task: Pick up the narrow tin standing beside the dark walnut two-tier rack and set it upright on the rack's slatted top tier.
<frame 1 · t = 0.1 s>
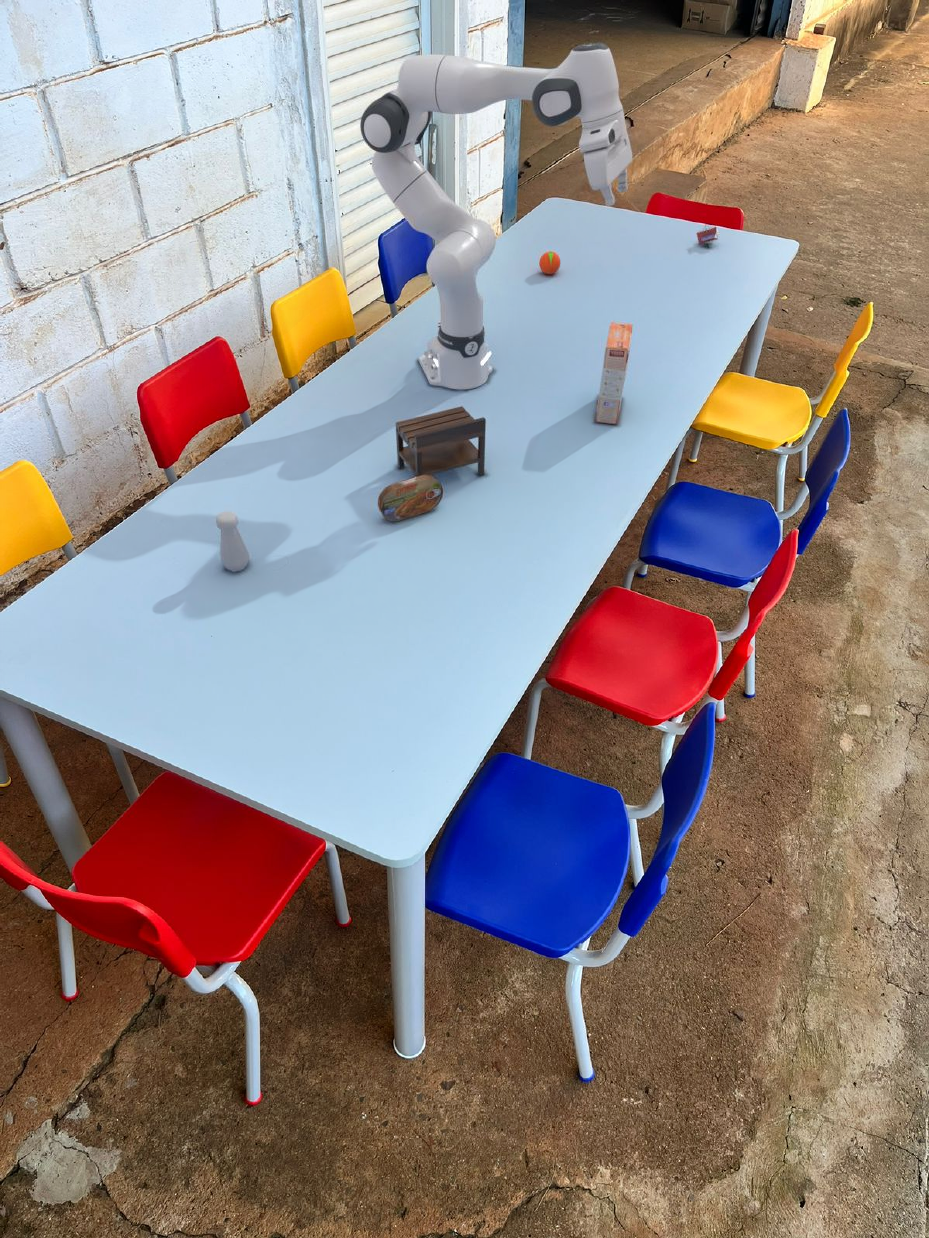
hand: (617, 198, 197), 52 cm above the table, tool tilted 20°, fingers open, 8 cm apart
tin: (410, 513, 200), on the table
cracker box: (608, 411, 232), on the table
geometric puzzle: (705, 246, 312), on the table
rack: (440, 470, 211), on the table
salt shaker: (236, 566, 186), on the table
clementine: (549, 274, 294), on the table
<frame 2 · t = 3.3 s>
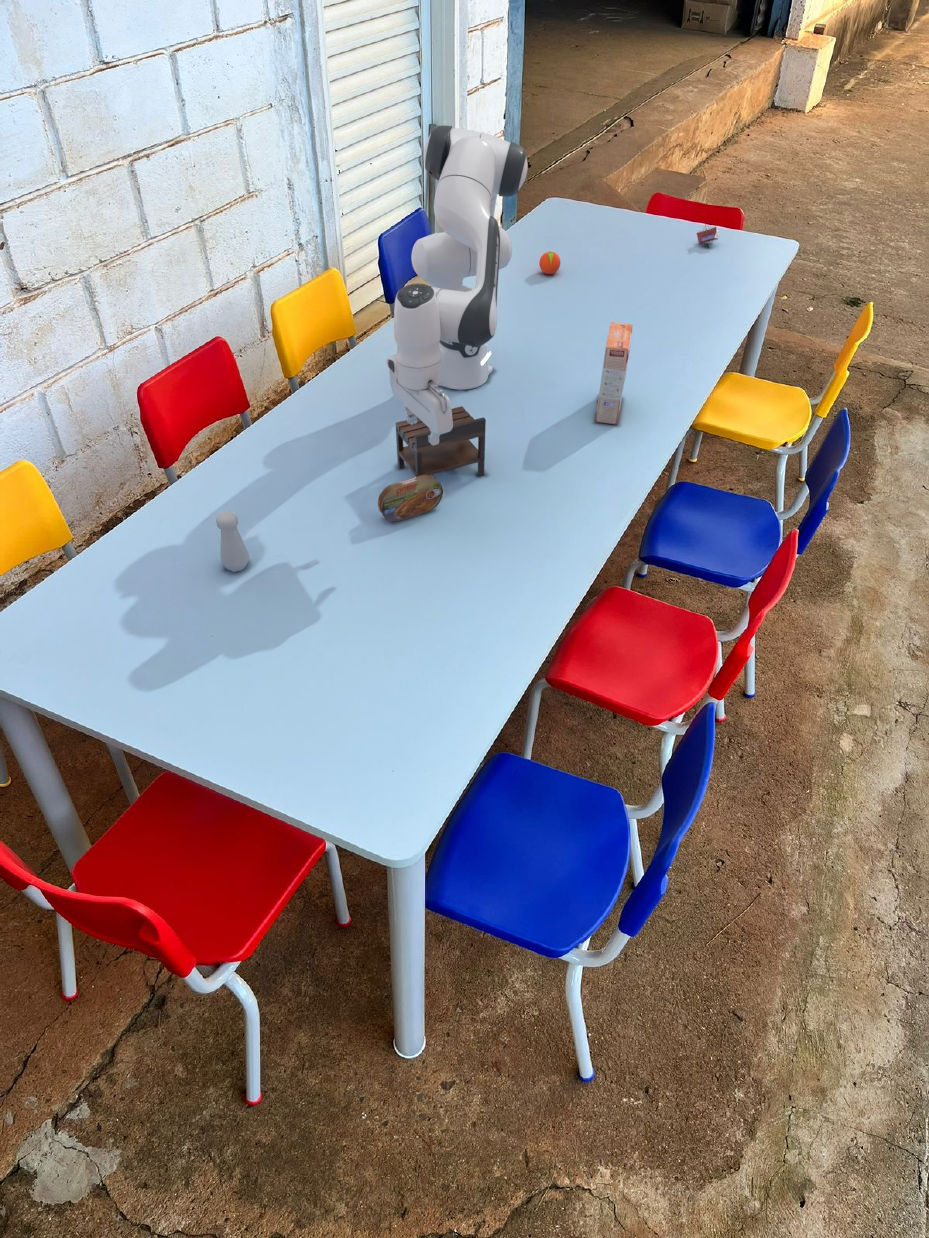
hand: (422, 432, 185), 21 cm above the table, tool pointing down, fingers open, 8 cm apart
nothing on the table moved.
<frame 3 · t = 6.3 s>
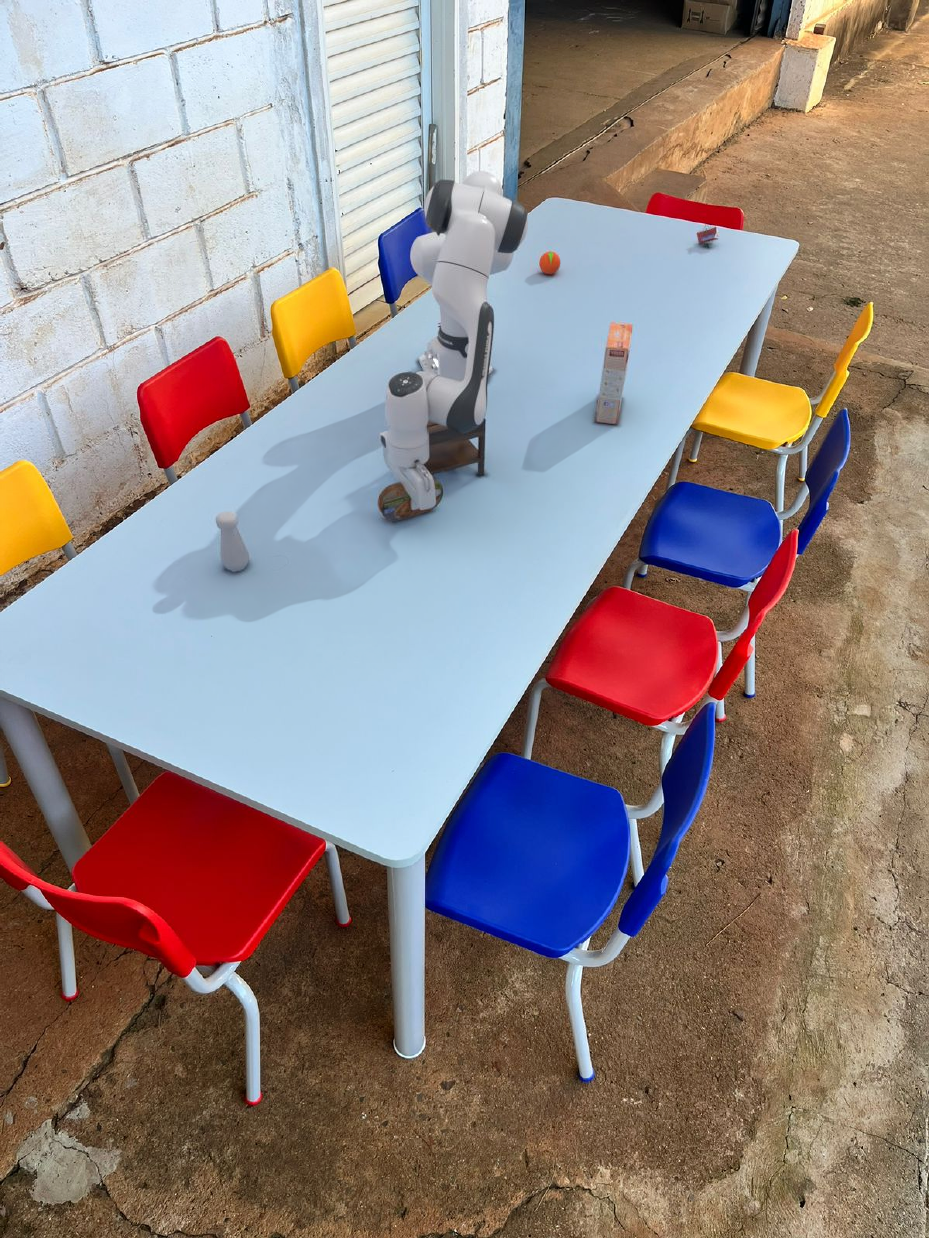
hand: (410, 503, 198), 3 cm above the table, tool pointing down, fingers closed on tin, 2 cm apart
tin: (410, 512, 200), on the table, touching gripper
everything else where it was.
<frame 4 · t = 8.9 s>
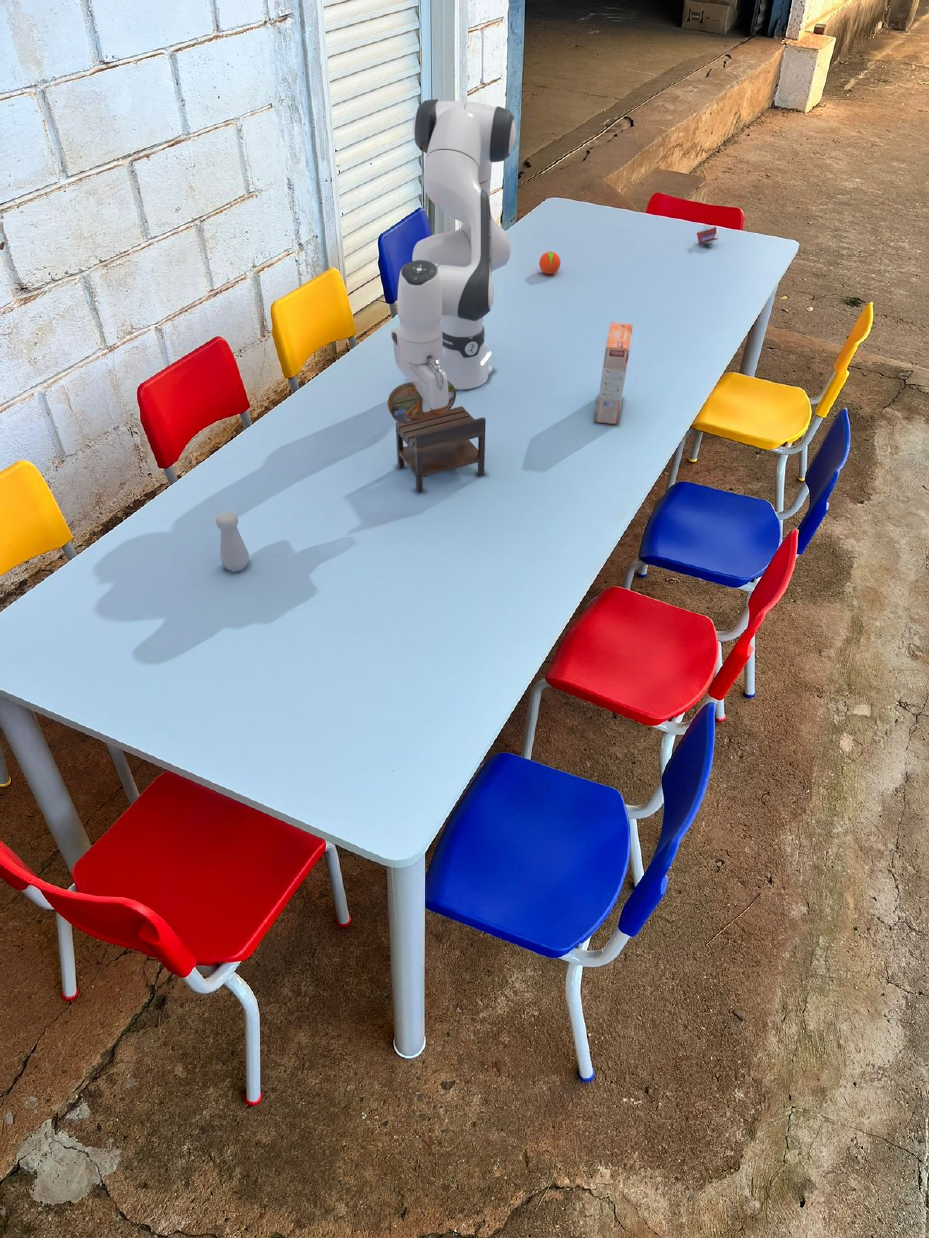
hand: (421, 405, 191), 22 cm above the table, tool pointing down, fingers closed on tin, 2 cm apart
tin: (421, 416, 193), point 19 cm above the table, touching gripper
everything else where it was.
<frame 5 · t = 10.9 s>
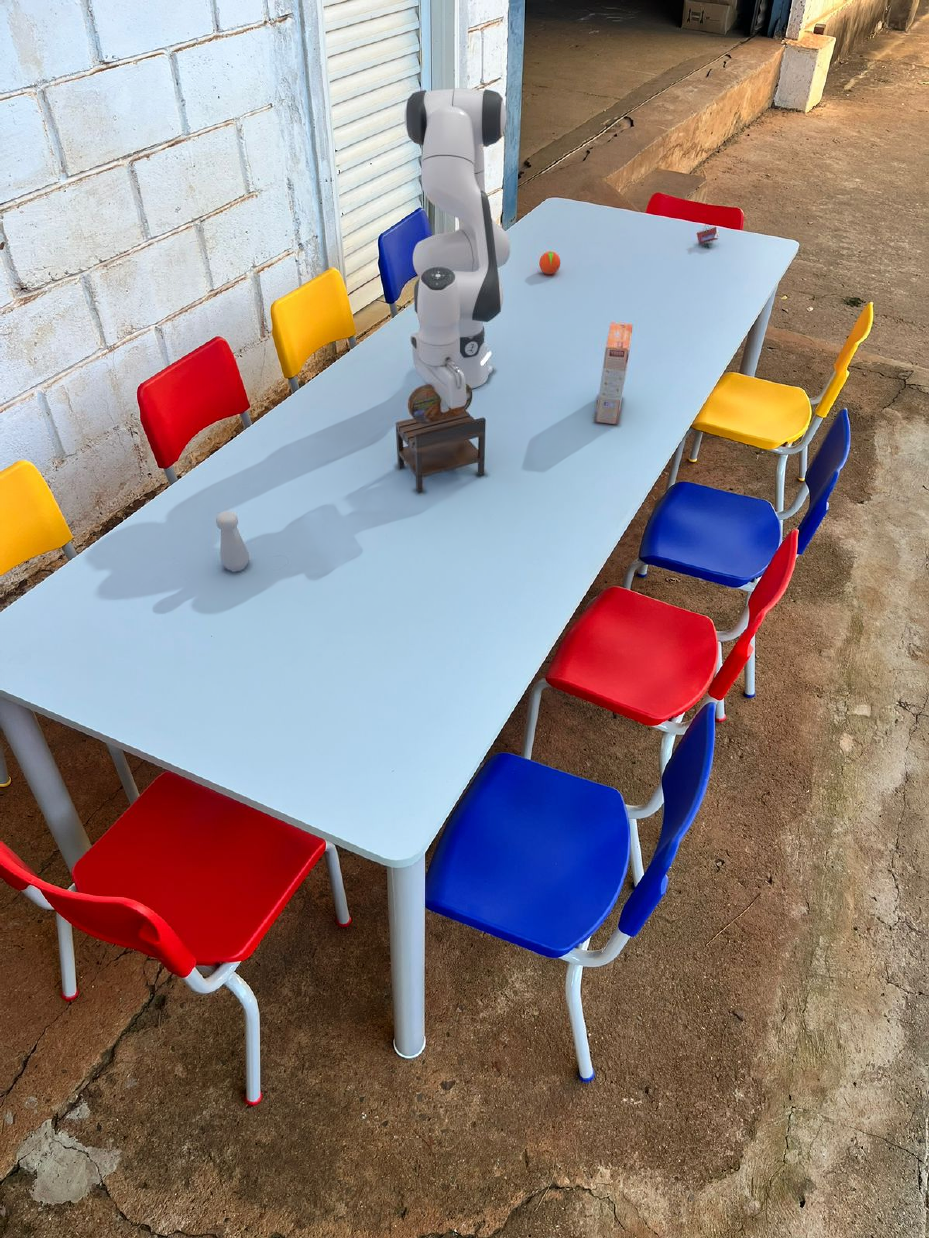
hand: (440, 406, 200), 17 cm above the table, tool pointing down, fingers closed on tin, 2 cm apart
tin: (439, 417, 202), point 14 cm above the table, touching gripper
everything else where it was.
when the fingers open (15 cm above the table, at t = 11.9 s): tin stays where it is, resting on rack.
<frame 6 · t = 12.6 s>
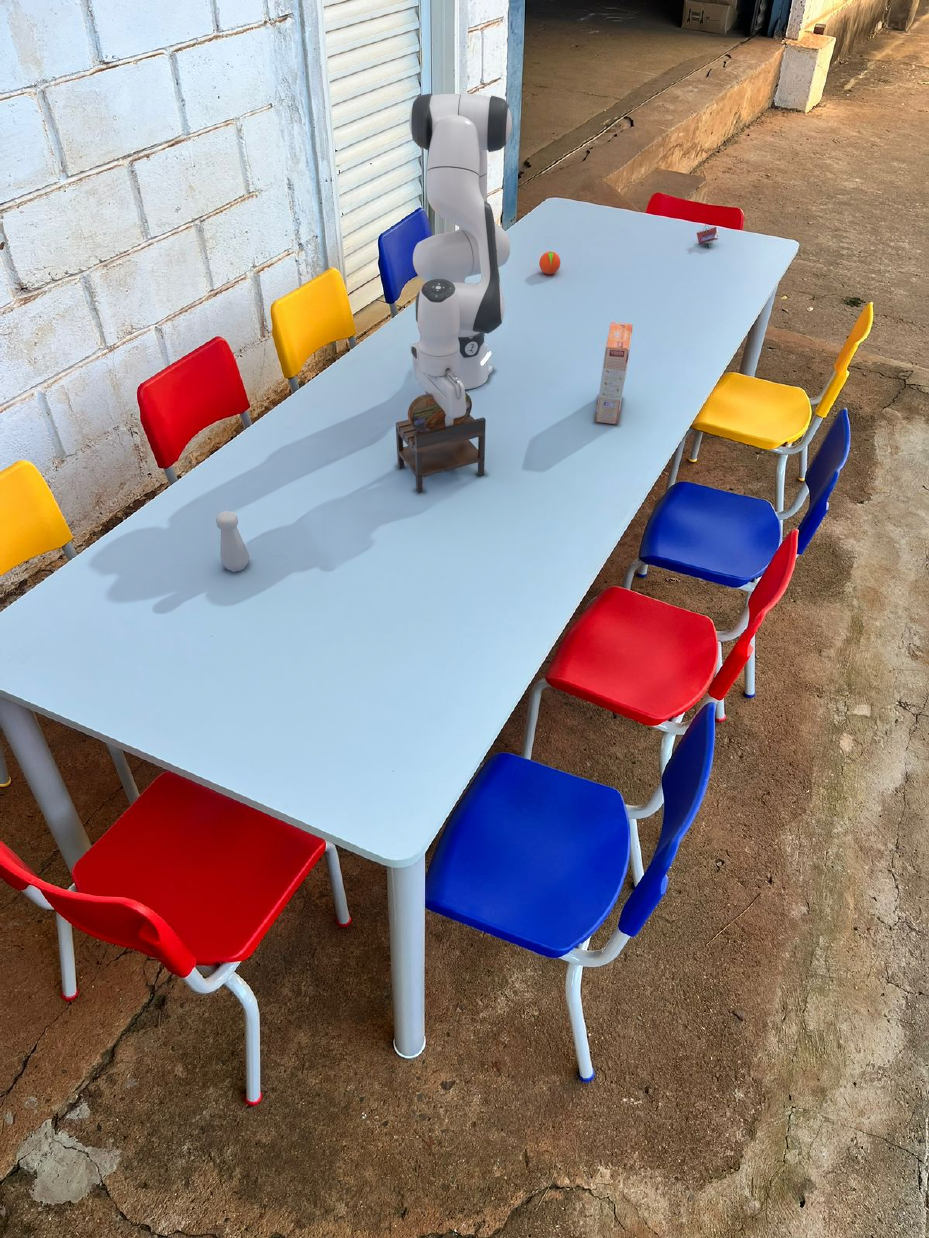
hand: (439, 415, 201), 15 cm above the table, tool pointing down, fingers open, 8 cm apart
tin: (439, 426, 203), point 12 cm above the table, touching rack
everything else where it was.
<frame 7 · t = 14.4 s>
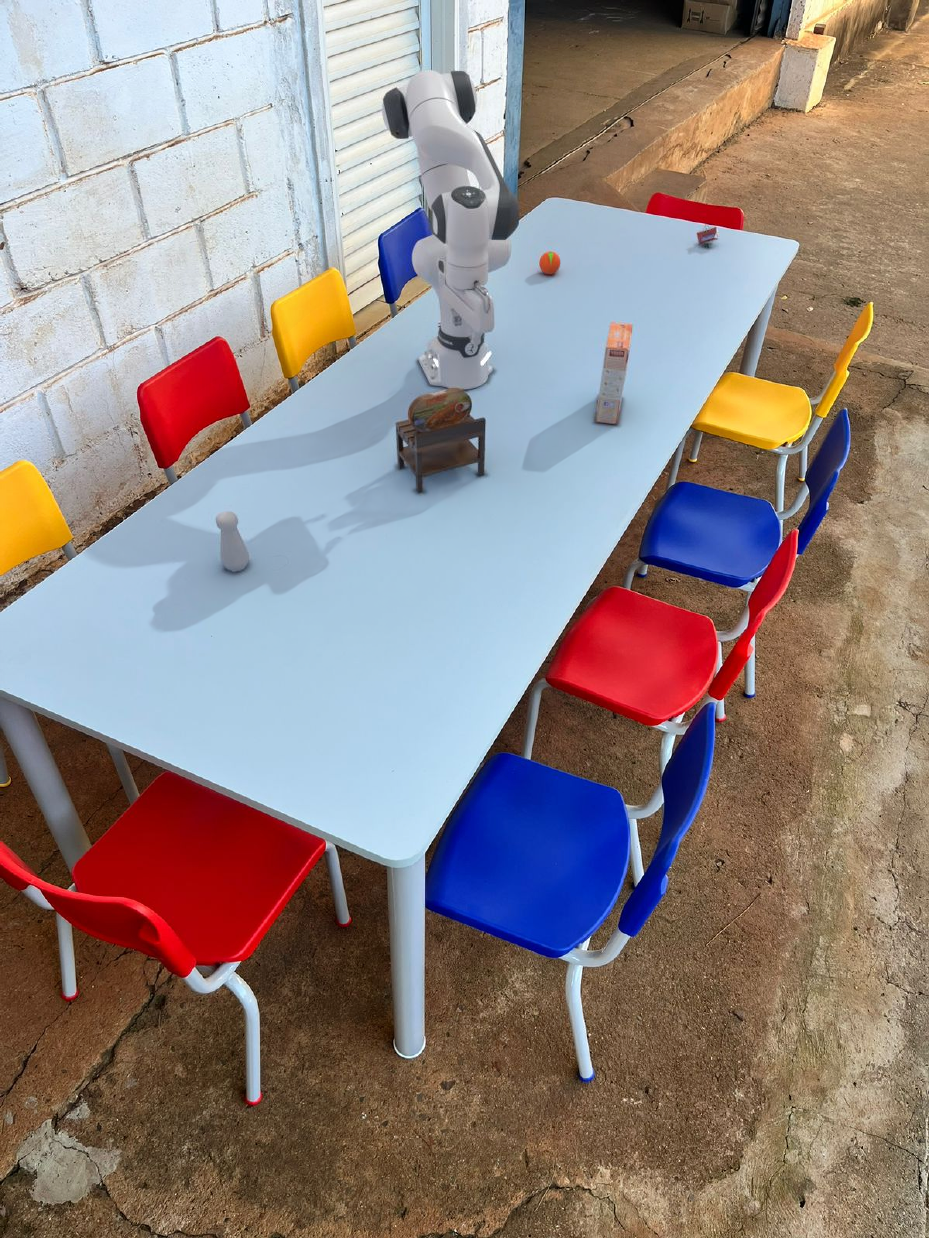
hand: (465, 334, 197), 30 cm above the table, tool pointing down, fingers open, 8 cm apart
nothing on the table moved.
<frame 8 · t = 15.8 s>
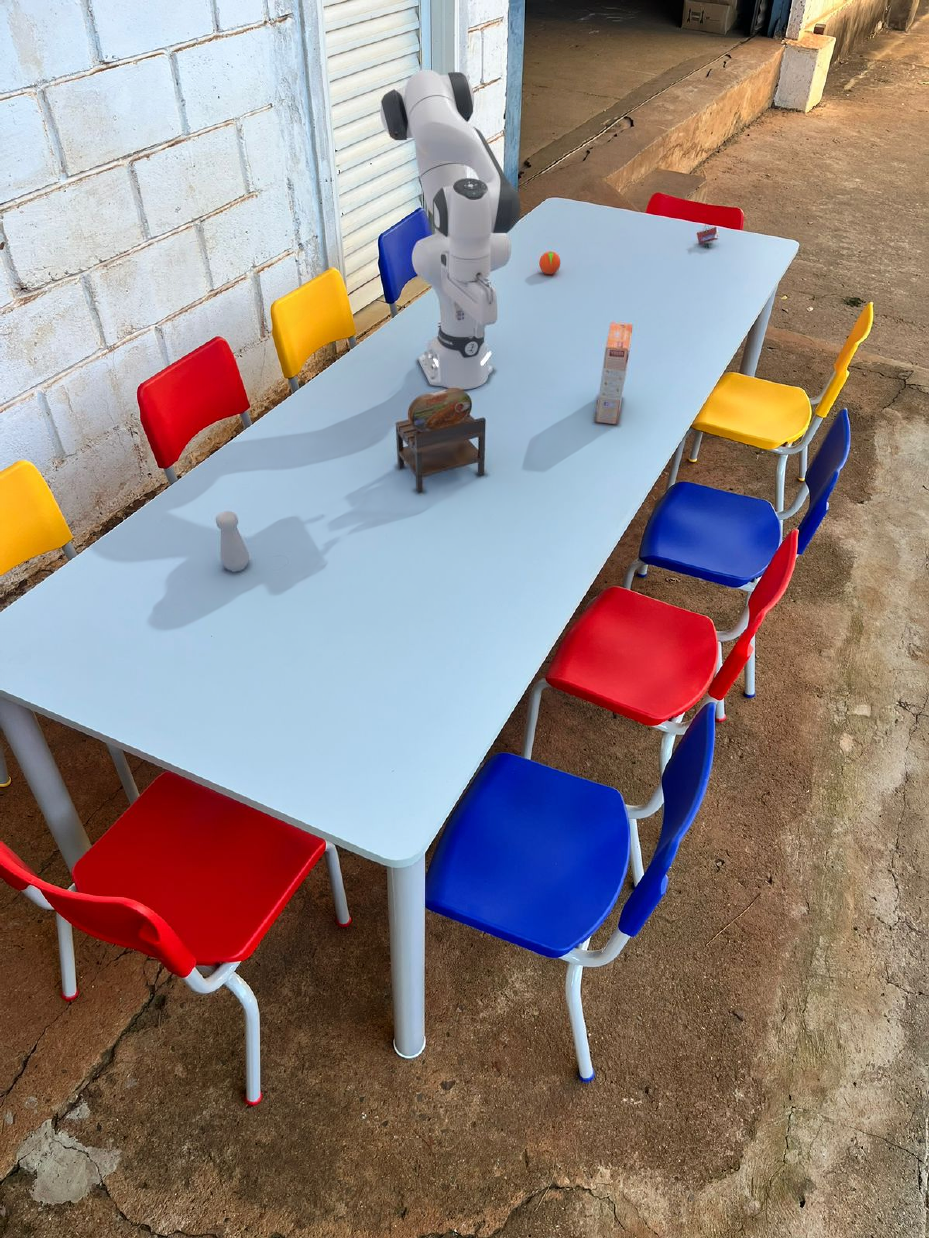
hand: (468, 327, 197), 31 cm above the table, tool pointing down, fingers open, 8 cm apart
nothing on the table moved.
at the end: tin inside the target area on the rack (0.3 cm from its centre), point 11.8 cm above the rack's base; tin tilted 0°; the gripper is holding nothing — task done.
